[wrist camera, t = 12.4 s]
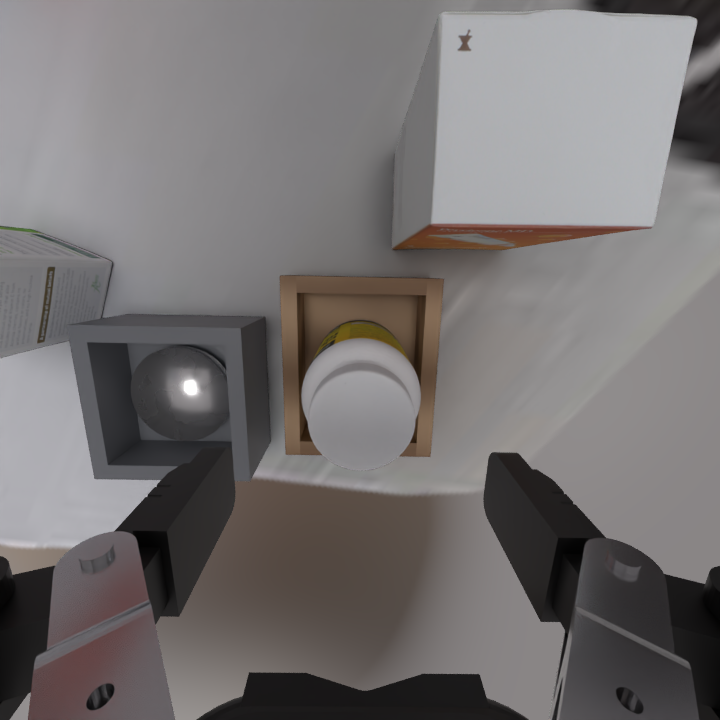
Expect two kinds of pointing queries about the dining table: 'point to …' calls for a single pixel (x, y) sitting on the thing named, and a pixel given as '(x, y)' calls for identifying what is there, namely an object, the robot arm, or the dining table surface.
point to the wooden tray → (358, 302)
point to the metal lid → (181, 393)
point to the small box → (538, 128)
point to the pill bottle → (361, 396)
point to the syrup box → (46, 289)
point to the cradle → (114, 403)
